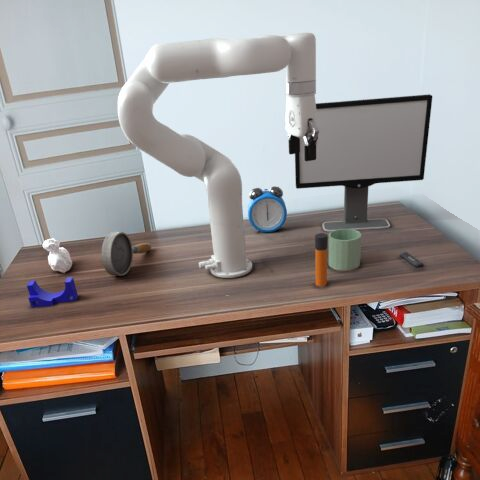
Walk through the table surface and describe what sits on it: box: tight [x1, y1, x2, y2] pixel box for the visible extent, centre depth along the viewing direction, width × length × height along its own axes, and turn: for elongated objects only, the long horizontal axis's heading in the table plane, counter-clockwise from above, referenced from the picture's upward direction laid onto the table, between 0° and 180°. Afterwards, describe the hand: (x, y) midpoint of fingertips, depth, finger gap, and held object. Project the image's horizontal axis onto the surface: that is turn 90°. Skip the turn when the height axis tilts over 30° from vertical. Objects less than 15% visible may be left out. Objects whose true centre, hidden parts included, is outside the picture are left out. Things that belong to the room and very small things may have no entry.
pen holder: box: [327, 229, 362, 271], centre depth 145 cm, size 9×9×10 cm
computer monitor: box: [294, 93, 433, 233], centre depth 163 cm, size 41×8×40 cm, turn 88°
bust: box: [41, 237, 73, 274], centre depth 159 cm, size 12×8×11 cm
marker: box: [314, 232, 329, 287], centre depth 134 cm, size 3×3×14 cm
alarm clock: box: [247, 185, 288, 234], centre depth 172 cm, size 13×6×15 cm, turn 91°
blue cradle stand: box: [26, 276, 79, 308], centre depth 140 cm, size 12×4×6 cm, turn 92°
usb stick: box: [399, 251, 424, 269], centre depth 144 cm, size 10×3×2 cm, turn 13°
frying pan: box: [101, 231, 152, 277], centre depth 157 cm, size 13×3×25 cm
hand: (302, 156), depth 138 cm, fingers open, 9 cm apart
